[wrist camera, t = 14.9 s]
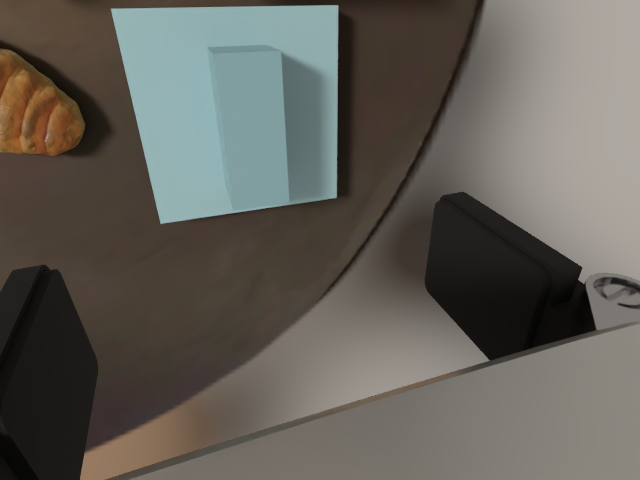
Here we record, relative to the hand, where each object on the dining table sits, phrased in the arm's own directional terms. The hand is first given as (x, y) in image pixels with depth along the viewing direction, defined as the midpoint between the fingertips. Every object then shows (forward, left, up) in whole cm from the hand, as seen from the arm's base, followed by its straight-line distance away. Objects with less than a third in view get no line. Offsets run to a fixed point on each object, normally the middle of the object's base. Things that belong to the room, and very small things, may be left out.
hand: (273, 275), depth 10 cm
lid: (+1, +3, -25) cm, 25 cm away
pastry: (-1, -13, -25) cm, 28 cm away
